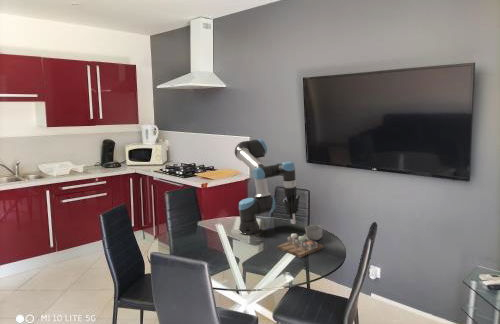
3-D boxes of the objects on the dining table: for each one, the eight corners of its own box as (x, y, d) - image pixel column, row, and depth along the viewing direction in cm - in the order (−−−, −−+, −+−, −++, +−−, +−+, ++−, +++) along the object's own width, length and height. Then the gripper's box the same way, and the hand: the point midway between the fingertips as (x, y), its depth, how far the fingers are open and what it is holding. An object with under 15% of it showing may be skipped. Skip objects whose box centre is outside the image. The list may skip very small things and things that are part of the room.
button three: (305, 247, 224) (305, 242, 223) (310, 245, 226) (309, 240, 226) (310, 249, 221) (309, 244, 220) (315, 247, 223) (314, 242, 222)
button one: (289, 239, 235) (289, 234, 235) (294, 237, 237) (294, 232, 237) (294, 240, 232) (293, 236, 231) (298, 238, 234) (298, 234, 234)
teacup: (322, 242, 234) (321, 230, 233) (305, 242, 237) (304, 230, 235) (322, 234, 248) (322, 222, 247) (306, 234, 250) (305, 223, 249)
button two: (297, 242, 229) (297, 237, 229) (302, 240, 232) (301, 235, 231) (301, 243, 226) (301, 238, 226) (306, 241, 228) (306, 237, 228)
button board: (277, 248, 231) (277, 241, 230) (300, 239, 242) (299, 232, 241) (300, 257, 215) (299, 249, 214) (322, 247, 226) (322, 240, 225)
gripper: (286, 189, 222) (289, 227, 226) (302, 185, 230) (305, 221, 233) (278, 188, 228) (281, 224, 232) (293, 184, 236) (296, 219, 239)
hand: (293, 223), depth 233 cm, fingers closed
